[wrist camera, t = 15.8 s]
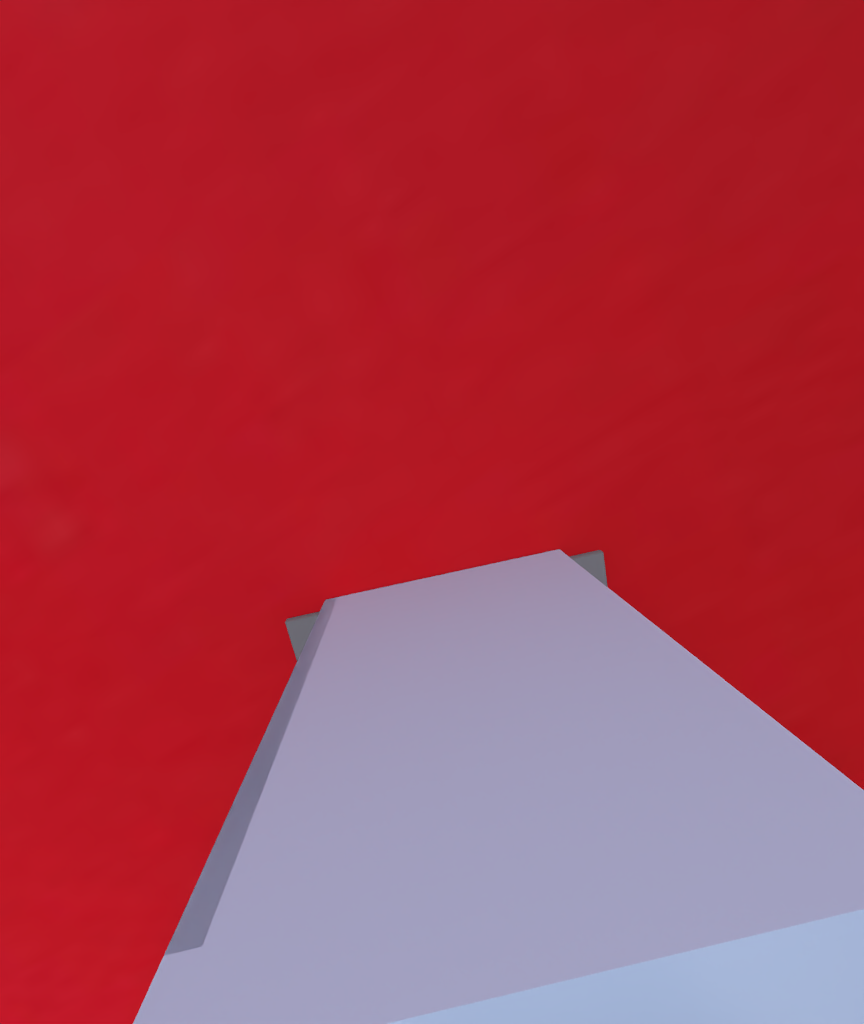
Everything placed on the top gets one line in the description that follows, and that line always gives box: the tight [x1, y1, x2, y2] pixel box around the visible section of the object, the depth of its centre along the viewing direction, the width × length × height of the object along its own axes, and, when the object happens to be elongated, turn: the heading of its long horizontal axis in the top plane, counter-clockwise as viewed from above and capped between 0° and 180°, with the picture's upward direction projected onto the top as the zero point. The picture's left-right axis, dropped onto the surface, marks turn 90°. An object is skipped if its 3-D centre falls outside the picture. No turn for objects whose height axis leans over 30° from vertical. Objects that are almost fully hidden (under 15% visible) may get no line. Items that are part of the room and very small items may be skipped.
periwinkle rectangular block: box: [133, 549, 864, 1024], centre depth 8 cm, size 10×7×9 cm
